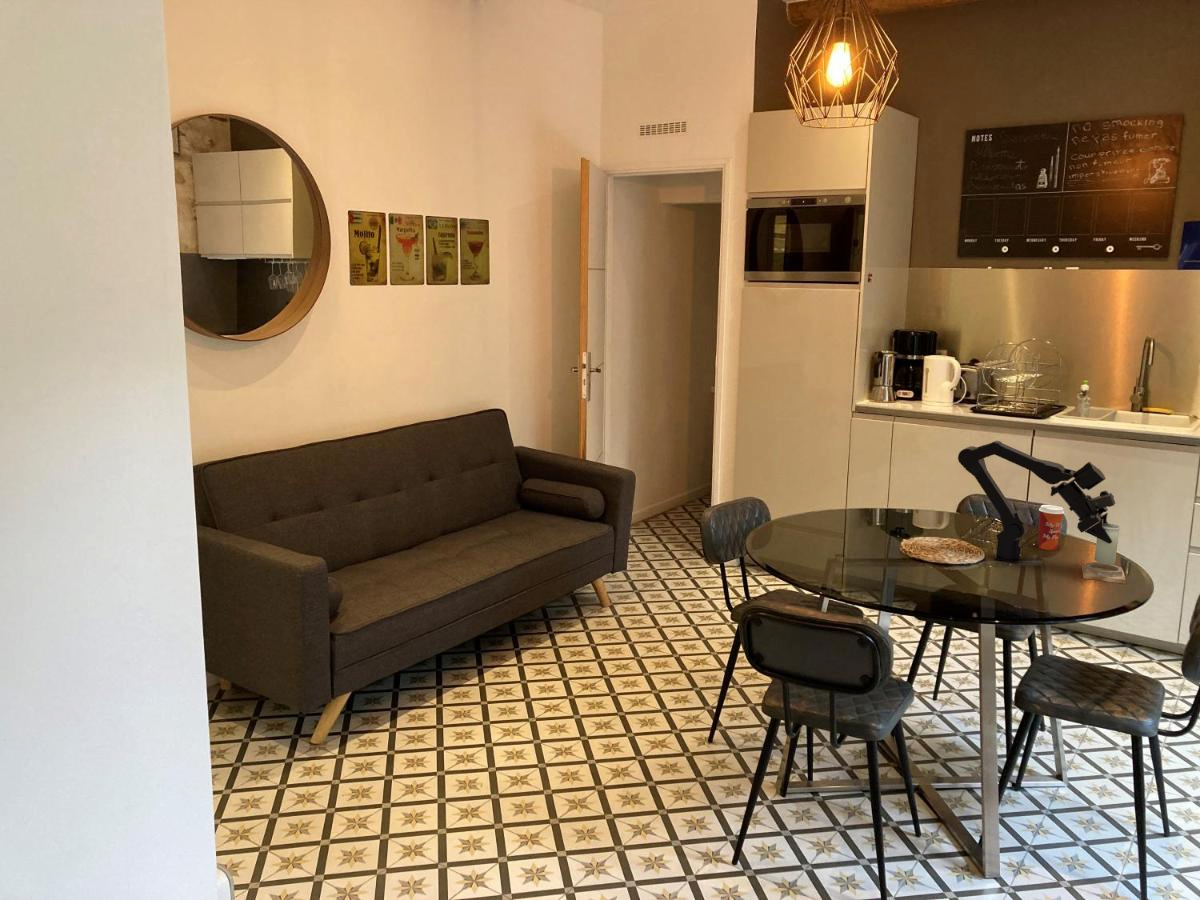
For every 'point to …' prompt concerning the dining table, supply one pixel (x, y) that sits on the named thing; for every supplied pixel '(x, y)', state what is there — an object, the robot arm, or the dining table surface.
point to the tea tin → (1107, 545)
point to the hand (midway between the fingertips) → (1112, 540)
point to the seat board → (1103, 572)
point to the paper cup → (1049, 526)
